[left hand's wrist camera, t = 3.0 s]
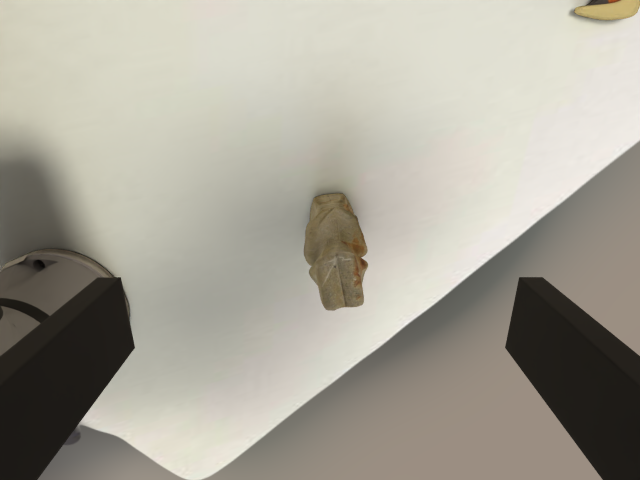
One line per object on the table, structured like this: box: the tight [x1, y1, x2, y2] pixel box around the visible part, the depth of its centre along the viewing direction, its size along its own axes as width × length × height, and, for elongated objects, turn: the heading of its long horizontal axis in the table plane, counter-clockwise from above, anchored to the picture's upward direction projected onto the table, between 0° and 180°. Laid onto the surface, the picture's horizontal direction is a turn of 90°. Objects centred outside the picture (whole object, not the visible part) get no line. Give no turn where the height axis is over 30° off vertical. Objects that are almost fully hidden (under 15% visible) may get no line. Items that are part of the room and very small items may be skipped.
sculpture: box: [304, 193, 368, 310], centre depth 37 cm, size 6×7×15 cm
